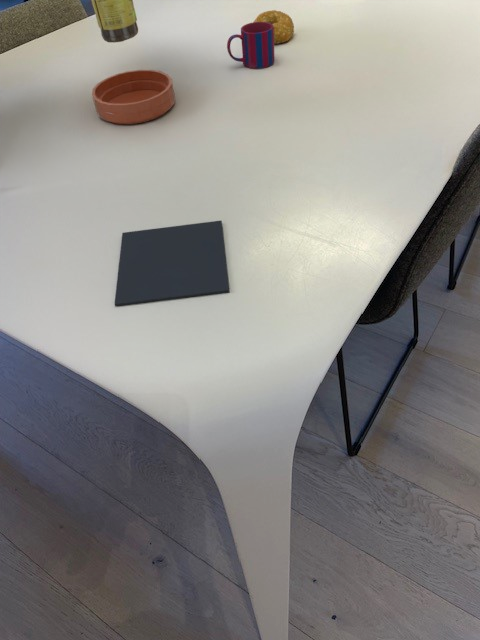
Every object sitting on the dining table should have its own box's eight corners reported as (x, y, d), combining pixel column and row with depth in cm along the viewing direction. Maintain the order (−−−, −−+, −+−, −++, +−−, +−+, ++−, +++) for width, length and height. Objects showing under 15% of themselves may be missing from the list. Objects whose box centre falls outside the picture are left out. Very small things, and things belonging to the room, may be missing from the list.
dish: (94, 130, 91) (87, 109, 88) (102, 95, 101) (96, 75, 98) (175, 120, 91) (171, 98, 88) (175, 86, 101) (171, 65, 98)
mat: (115, 306, 60) (114, 304, 60) (123, 234, 69) (122, 232, 69) (229, 292, 60) (229, 289, 59) (221, 222, 69) (221, 220, 69)
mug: (278, 65, 103) (277, 29, 98) (232, 74, 103) (229, 38, 97) (269, 54, 108) (268, 19, 103) (225, 62, 107) (221, 27, 102)
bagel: (239, 41, 114) (237, 18, 111) (273, 27, 119) (272, 4, 115) (268, 51, 109) (267, 27, 106) (303, 36, 113) (303, 12, 110)
